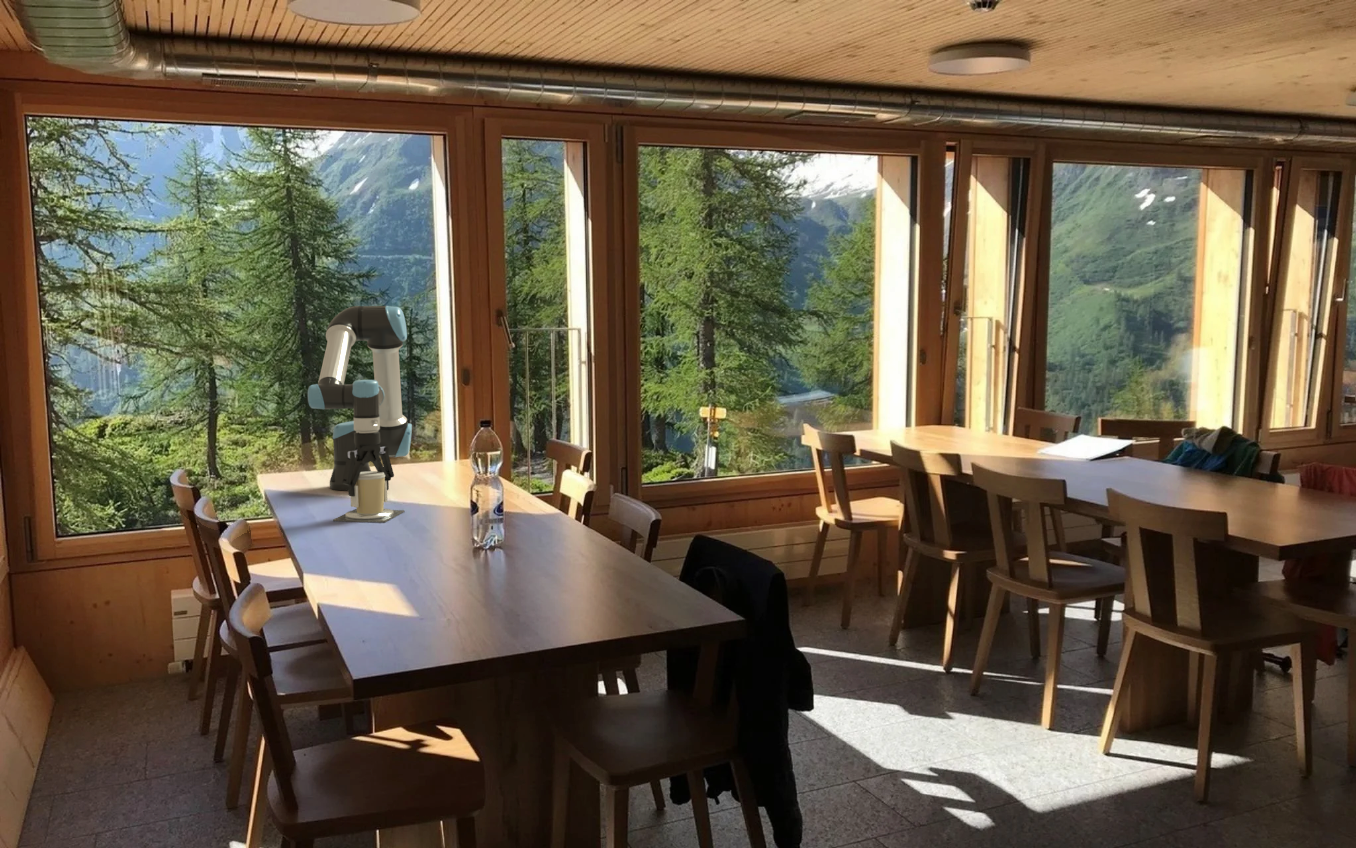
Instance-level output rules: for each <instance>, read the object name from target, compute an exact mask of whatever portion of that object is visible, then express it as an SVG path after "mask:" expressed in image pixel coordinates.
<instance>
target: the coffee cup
mask: <svg viewBox="0 0 1356 848" xmlns="http://www.w3.org/2000/svg"><path fill="white" fill-rule="evenodd" d="M355 485H357V486H358V505H359V507H355V509H357V513H358V514H362V515H372V514H379V513H382V512H383V508H385V507H384V503H385V502H384V485H385V475H384V472H378V471H377V470H375V471H374V470H371V471H366V472H360V475H359V477H358V480H357V482H356V484H355Z"/></svg>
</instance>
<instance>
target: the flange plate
mask: <svg viewBox="0 0 1356 848" xmlns="http://www.w3.org/2000/svg"><path fill="white" fill-rule="evenodd" d="M405 511H406V510H403V509H399V510H398V509H390V508H385V507H383V512H382V513H379V514H372V515H362V514H358V513H357V509H356V508H355V509H353V510H350V511H347V512H345V513H344V514H342V515H339V516H337V517H336V518H334V519H332V522H346V523H347V522H348V523H349V522H351V523H379V524H381V523H384V524H385V523H387V522H389V521H391V520H392V519H394V518H396V517H398V516H400V515H402V514H404V513H405Z"/></svg>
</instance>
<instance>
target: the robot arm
mask: <svg viewBox="0 0 1356 848" xmlns="http://www.w3.org/2000/svg"><path fill="white" fill-rule="evenodd" d="M406 322H407V321H406V318H405V315H404V312H403V310H402V308H401V307H399V306H390V305H372V306H371V305H367V306H365V305H362V306H360V305H355V306H350V307H348V308H345V309H343V310H342V311H340V312H339V313H338V314H336V315H335V316H334V317H333V319H331V321H329V324H328V326H327V328H326V332H325V339H326V341H327V343H326V348H325V352H324V355H323V356H324V357H323V360H322V366H321V369H320V374H319V378H318V383H315V384H311V385H309V386H308V389H307V403H308V405H309V407H310V408H311V409H315V410H316V409H318V410H336V409H337V410H339V409H340V410H342V409H345V410H351V409H353V420H352V421H345V422H341V423H338V424H335V425H334V427H333V428H332V430H333V431H332V432H333V434H332V442H333V445H332V446H333V468H332V469H333V470H332V472H331V476H330V478H329V489H330V490H333V491H334V490H335V491H348V496H349V497H350V507H353V508H356V507H359V505H358V486H357V485H355V484H356V482H357V480H358V477H359V475H360V472H366V471H372V470H371V467H370V463H369V462H371V463H372V464H373V466H374V468H375V469H376V470H375V471H378V472H384V475H385V485H384V503H386V502H387V503H388V491H389V485H390V484H389V481H391V480H392V478H394V476H395V473H394V470H393V466H392V462H391V460H390V459H391V458H397V457H406V456H407V455H408V454H409V452H410V449H411V442H412V435H413V433H412V430H413V428H412V427H413V424H412V423H408V418H407V417H406V416H405V415H403V404H402V389H401V388H402V387H401V371H400V370H401V369H400V368H401V367H400V353H399V352H400V351H399V350H400V349H401V348H402V347H403V346H404V344H403V343H404V342H405V341H406V340H407V338H408V332H407V324H406ZM358 341H359V342H360V341H362V342H367V348H369V350H371V351H372V361H373V362H372V363H373V375H374V379H359V380H358V379H357V380H354V381H353V383H352V384H346V383H345V380H346V375H347V370H348V365H349V360H350V355H351V349H352V347H353V346H354V345H355V343H356V342H358Z"/></svg>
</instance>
